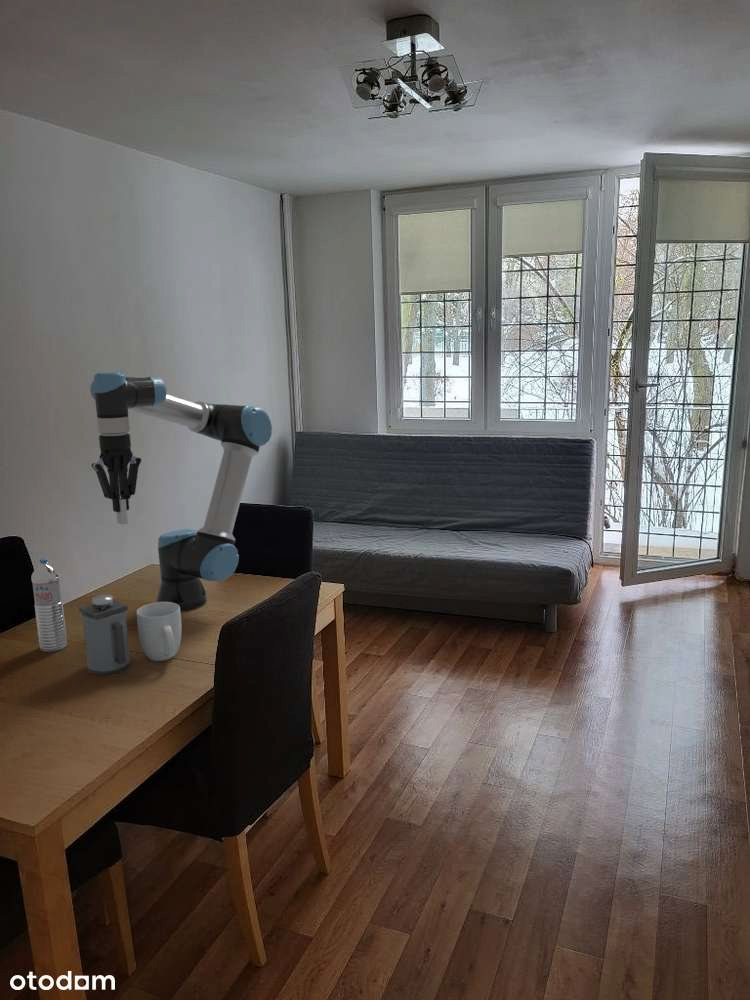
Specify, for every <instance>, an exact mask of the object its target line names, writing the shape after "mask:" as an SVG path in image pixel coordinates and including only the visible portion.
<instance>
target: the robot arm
mask: <svg viewBox="0 0 750 1000" xmlns="http://www.w3.org/2000/svg"><path fill="white" fill-rule="evenodd" d="M167 391H168V390H167V386H166V384H165V382H164V380H163V379H161V377H158V376H157V377H156V376H147V377H146V376H145V377H134V376H131V377H130V376H126V375H125V373H124V372H122V371H99V372H97V373H96V372H95V374H94V375H93V381H92V382H91V384H90V395H91V397H92V399H93V400H94V402H95V408H96V409H95V410H96V419H97V420H96V421H97V429H98V433H99V436H98V440H99V441H98V442H99V449H100V455H99V459H98V461H96V462H93V463H91V468H92V469H93V470H94V471H95V472H96V476H97V478H98V482H99V484H100V487H101V490H102V494H103V497H104V498H105V499H108V500H111V502H112V509H113V510H112V511H113V512H114V513H115V514H116V522H117V524H119V525H122V526H123V525H127V524H129V521H128V511H129V510H130V503H129V502H130V501H129V500H131V497H132V496H134V495H135V494H136V489H137V480H138V473H139V467H140V464H141V462H142V458H141V457H137V456H135V455H134V453H133V451H132V450H131V446H132V443H131V435H130V434H129V432H130V420H129V410H130V411H133V412H136V413H139V414H144V415H147V416H151V417H154V418H157V419H161V420H164V421H167V422H170V423H174V424H178V425H181V426H185V427H187V428H188V430H189V431H191V432H192V433H196V434H200V435H202V436H205V437H207V438H210V439H213V440H216V441H220V445H221V447H222V449H223V454H222V457H221V462H220V465H219V468H218V472H217V477H216V480H215V483H214V487H213V492H212V495H211V498H210V502H209V506H208V509H207V513H206V517H205V521H204V525H203V526H202V527H201V528H199V529H198V530H195V529H193V528H189V529H188V528H185V529H178V530H172V531H168V532H165V533H162V534H161V535H159V537H158V539H157V541H158V542H157V545H158V546H157V549H158V562H159V563H158V564H159V572H160V573H159V574H160V584H159V588H158V592H157V596H156V602H172V603H175V604H178V605H179V606H180V612H184V611H190V610H195V609H197V608H201V607H202V606H203V605H205V604H206V603H207V600H208V599H207V592H206V590H205V587H204V585H203V583H202V580H201V579H203V580H205V581H207V582H222V581H225V580H227V579H228V578H229V577H231V576H232V575H233V574H234V573H235V571H236V569H237V567H238V564H239V561H240V560H239V558H240V556H239V555H240V554H238V553H239V552H238V551H239V550H238V548H236V546H235V543H236V538H235V536H234V535H233V532H234V528H235V525H236V524H235V522H236V519H237V517H238V512H239V508H240V504H241V500H242V498H243V497H242V496H243V493H244V489H245V485H246V482H247V478H248V473H249V471H250V466H251V461H252V458H254V457H255V456H257V455H259V451H260V449H261V447H262V446H264V445H266V444H267V443H269V441H270V440H271V437H272V433H273V432H272V431H273V425H272V420H271V419H270V416H269V414H268V413H267V412H266V410H264V409H263V408H262V407H259V406H253V405H238V404H237V405H236V404H219V403H217V404H216V403H207V402H203V401H196V402H193V401H190V400H187V399H184V398H180V397H177V396H174V395H171V394H169V393H167ZM128 466H129V467H128ZM105 467H106V468H107V469H106V470H107V473H108V477H107V473H106V470H105Z"/></svg>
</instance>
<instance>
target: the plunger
mask: <svg viewBox="0 0 750 1000" xmlns="http://www.w3.org/2000/svg"><path fill="white" fill-rule="evenodd" d="M113 599H114V595H112V594H98V595H94V596H93V597H92V598H91V603H92V606H93V607H97V608H101V609H104V608H105V607H107V606H110V605H112V604H113V603H114V602H113Z"/></svg>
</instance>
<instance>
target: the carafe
mask: <svg viewBox="0 0 750 1000" xmlns="http://www.w3.org/2000/svg"><path fill="white" fill-rule="evenodd" d="M113 602H114V603H113V604H112V605H110V606H107V607H105V608H104V609H101V608H97V607H93V606H92V602H91V603H89V604H85V605H81V606H79V607H78V609H79V610H78V611H79V613H81V614H82V615H81V619H82V620H81V621H82V627H83V629H82V630H83V637H84V639H83V640H84V645H85V646H84V647H85V655H86V657H85V658H86V665H87V669H88V670H87V671H88V672H89V674H92V675H95V676H96V675H97V676H108V675H113V674H114V675H115V674H116V673H117V674H119V673H120V672H123V671H124V670H126V669H128V667H129V666H130V664H131V663H130V652H129V651H130V649H129V639H128V629H127V628H128V627H127V620H126V619H127V618H126V617H127V615H126V612H127V611H129V609H128V607H129V606H128V605H126V604H124V603H123V602H120V601H117V600H115V599H114V598H113Z"/></svg>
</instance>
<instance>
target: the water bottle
mask: <svg viewBox="0 0 750 1000" xmlns="http://www.w3.org/2000/svg"><path fill="white" fill-rule="evenodd" d="M48 561H49V560H48V558H46V557H45V558H40V559H39V564H40V565H39V566H37V567H36V568H35V570H33V572H32V574H31V583H32V590H33V591H32V592H33V598H34V610H35V611H34V612H35V619H36V627H37V635H38V643H39V644H38V645H39V649H40V650H41V651H42V652H43V653H53V652H54V653H55V652H59V651H61V650H63V649H64V648H66V647H67V645H68V644H67V643H68V641H67V633H66V631H67V629H66V623H65V613H64V612H65V611H64V605H63V599H62V598H63V597H62V591H61V581H60V571H59V570H57V568H55V567H54V566H52V565H51V564H48V563H49V562H48Z"/></svg>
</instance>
